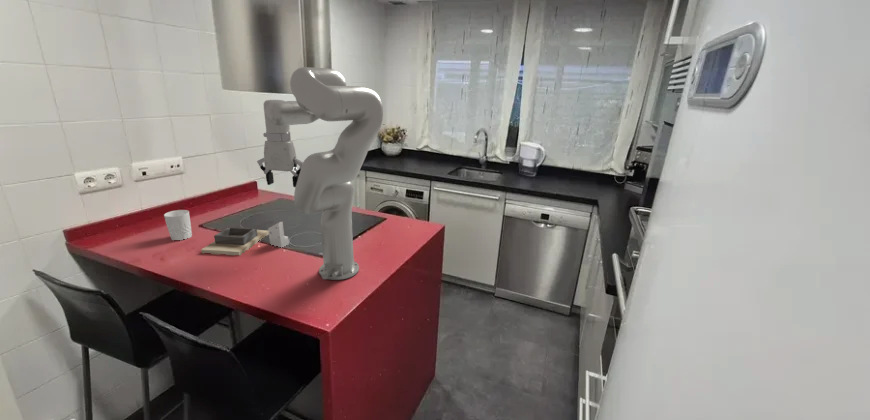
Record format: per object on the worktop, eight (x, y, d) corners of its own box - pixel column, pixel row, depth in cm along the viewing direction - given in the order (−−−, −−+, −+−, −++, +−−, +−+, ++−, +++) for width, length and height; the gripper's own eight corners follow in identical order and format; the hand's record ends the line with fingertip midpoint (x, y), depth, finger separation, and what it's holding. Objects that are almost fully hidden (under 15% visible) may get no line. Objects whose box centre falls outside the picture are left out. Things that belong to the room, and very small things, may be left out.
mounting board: (239, 255, 128) (237, 244, 127) (201, 253, 129) (199, 241, 128) (269, 234, 147) (267, 223, 146) (235, 232, 148) (234, 221, 147)
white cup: (169, 243, 137) (164, 218, 134) (169, 236, 143) (163, 212, 140) (194, 238, 141) (189, 214, 138) (192, 232, 147) (188, 208, 144)
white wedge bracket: (289, 244, 133) (278, 222, 132) (273, 251, 138) (262, 231, 137) (297, 240, 136) (286, 219, 135) (281, 248, 141) (270, 228, 140)
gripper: (248, 137, 123) (254, 186, 129) (297, 140, 122) (301, 190, 127) (261, 134, 130) (266, 180, 136) (307, 137, 129) (310, 184, 134)
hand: (283, 185), depth 132 cm, fingers open, 9 cm apart
